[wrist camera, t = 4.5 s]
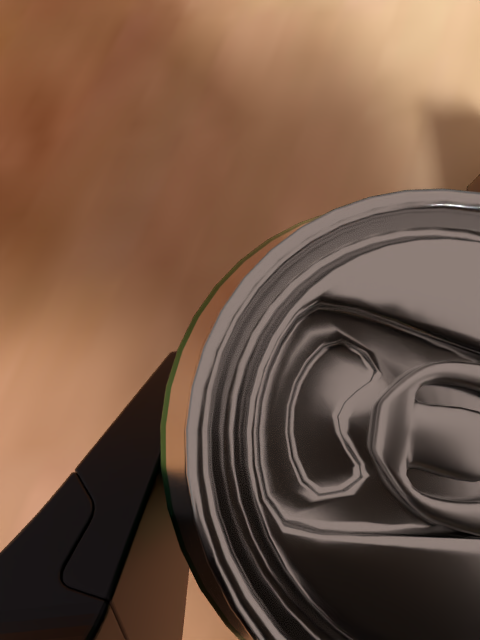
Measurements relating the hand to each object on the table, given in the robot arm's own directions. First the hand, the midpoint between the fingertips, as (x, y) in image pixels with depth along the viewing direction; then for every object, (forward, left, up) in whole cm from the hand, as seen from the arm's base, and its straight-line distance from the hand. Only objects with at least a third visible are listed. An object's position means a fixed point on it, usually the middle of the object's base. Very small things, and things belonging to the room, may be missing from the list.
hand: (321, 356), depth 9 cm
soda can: (-1, +1, -7) cm, 7 cm away
